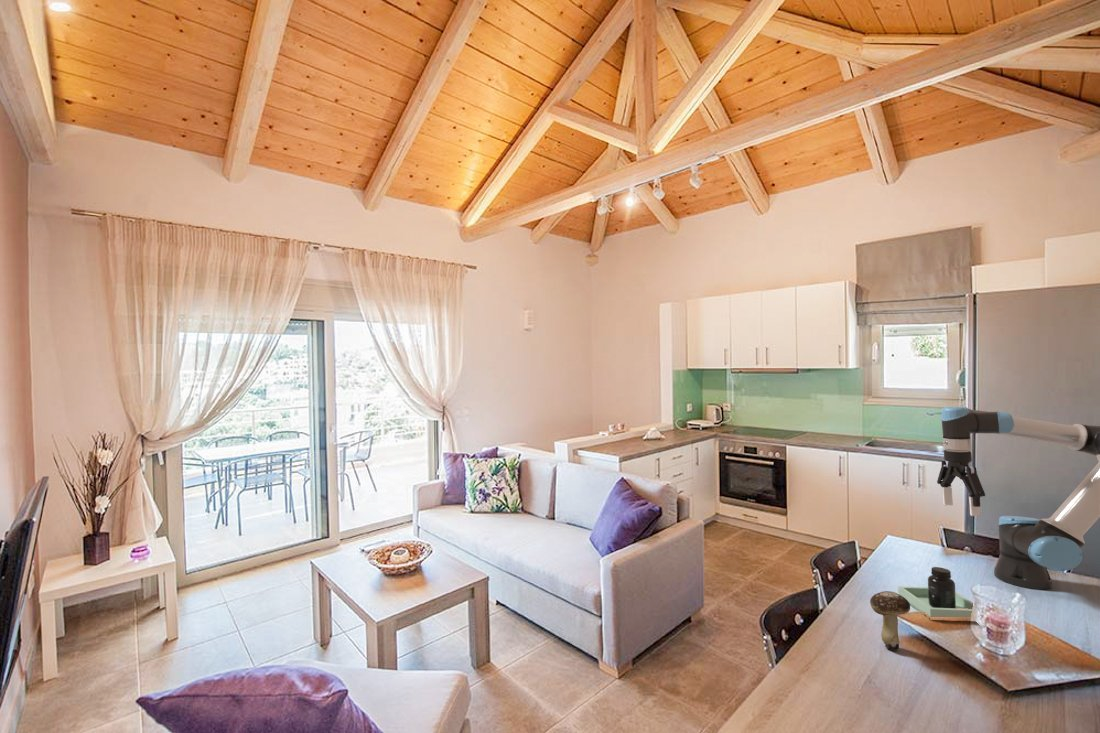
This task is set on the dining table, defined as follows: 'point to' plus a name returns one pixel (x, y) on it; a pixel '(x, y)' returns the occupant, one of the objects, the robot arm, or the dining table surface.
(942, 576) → the supplement bottle
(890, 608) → the mushroom
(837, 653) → the dining table surface
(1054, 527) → the robot arm
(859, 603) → the dining table surface
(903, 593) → the bin
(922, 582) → the dining table surface
